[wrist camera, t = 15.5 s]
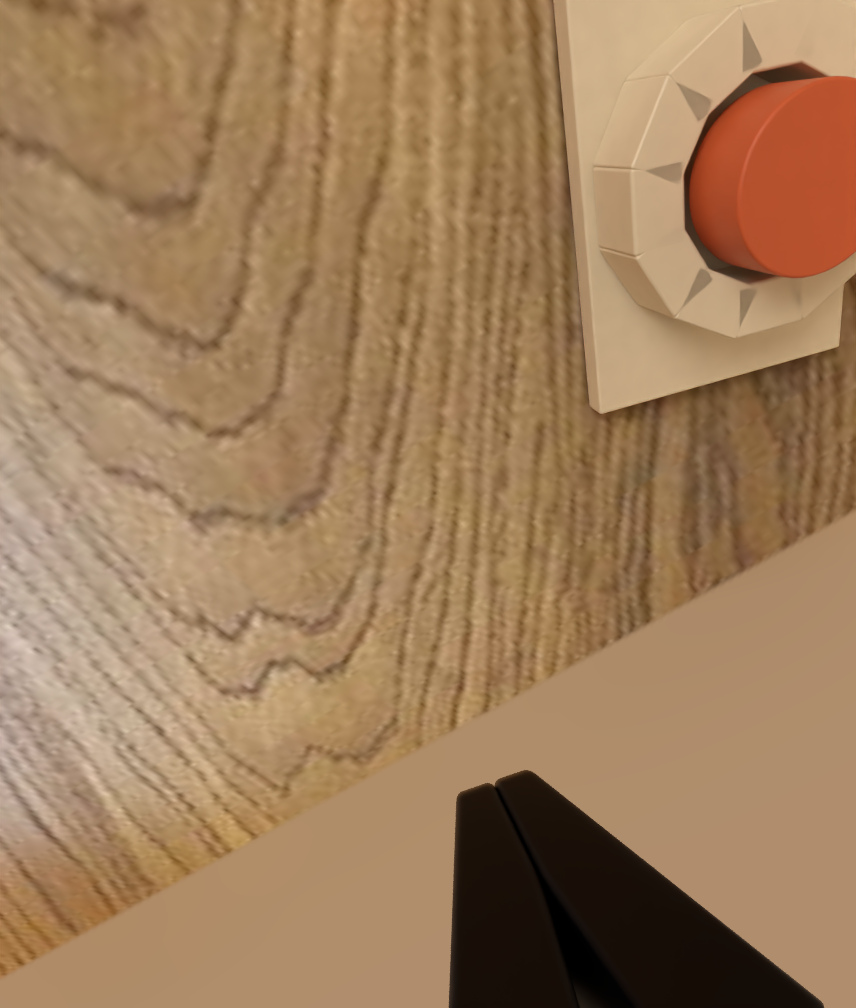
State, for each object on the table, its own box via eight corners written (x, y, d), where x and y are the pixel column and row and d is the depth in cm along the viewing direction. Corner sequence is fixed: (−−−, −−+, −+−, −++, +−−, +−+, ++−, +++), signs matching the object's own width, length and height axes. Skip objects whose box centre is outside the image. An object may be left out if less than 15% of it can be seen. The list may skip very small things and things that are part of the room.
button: (831, 246, 17) (891, 256, 15) (689, 283, 16) (737, 297, 15) (844, 66, 15) (913, 57, 14) (685, 102, 15) (739, 96, 13)
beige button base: (821, 341, 21) (893, 364, 18) (588, 407, 20) (635, 440, 17) (851, -111, 16) (953, -153, 14) (547, -54, 15) (603, -88, 13)
